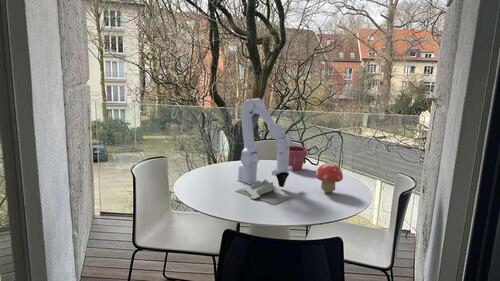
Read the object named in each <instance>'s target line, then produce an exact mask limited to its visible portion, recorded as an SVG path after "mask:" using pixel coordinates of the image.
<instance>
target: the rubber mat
mask: <svg viewBox="0 0 500 281" xmlns="http://www.w3.org/2000/svg"><path fill="white" fill-rule="evenodd" d="M250 187H251V185H250ZM235 192H236V193H238V192H239V194H242V195H244V196H247V197H249V198H250V197H251V195H250V194H249V193H248V192H247V191H243V188H239V189H237V190H235ZM290 199H292V197H291V196H287V195H286V194H285V195H284V194H282V193H278V192H275V191H274V193H273V192H272V191H268V192H266V193H263V194H261V195H260V197H258V198H256V200H259V201H261V202H264V203H266V204H270V205H273V206H275V205H278V204H280V203H283V202H285V201H288V200H290Z"/></svg>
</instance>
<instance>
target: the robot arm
mask: <svg viewBox="0 0 500 281" xmlns="http://www.w3.org/2000/svg"><path fill="white" fill-rule="evenodd" d="M241 105H242V109H241V113H240V118H241V119H240V120H241V129H242V138H243V139H242V140H243V147H244V148H243V149H242V151H241V157H240V162H241V164H240V165H239V167H238V173H237V174H238V175H237V176H238V178H237V181H238V182H242V183H245V184H248V185H252V184H255V183H257V182H261V181H260V180H259V179H257V172H258V163H259V161H260V159H261V157H260V156H261V155H260V154H259V151H258V150H259V149H258V148H257V147H256V146H255V138H254V137H255V136H254V135H255V134H254V127H253V116H254V115H255V114H256V115H259V116H260V117H261V118H262V119H263V121H264V122H265V124H267V125H266V126H268V132H269V133H270V134H271V135H272V138H273V139H274V140H275V141H276V142H275V146H276V148H277V155H276V156H277V158H276V168H275V169H273V170H272V171H271V175H272V176H274V177H276V179H277V182H278V187H281V188H283V187H285V184H286V181H287V178H288V176H290V172H291V170H292V166H288V163H289V146H292V144H293V141H292V138H291V136H290V135H287V134H286V133H285V132H284V130H283V128H282V125H281V124H279V123H275V121H274V119H273V118H272V115H271V114H270V113H269V111H268V109H267V107H266V103H264V102H263V100H262V98H259V97H255V98H248V99H245V100H244V101H243V103H242V104H241ZM287 147H288V148H287Z"/></svg>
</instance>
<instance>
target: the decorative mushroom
mask: <svg viewBox="0 0 500 281" xmlns="http://www.w3.org/2000/svg"><path fill="white" fill-rule="evenodd" d="M315 178H316V179H317V180H319V181H321V183H320V184H321V185H320V189H321V190H322V191H323V192H324V193H327V194H330V193H332V192H334V191H335V190H336V183H339V182H341V181H343V179H344V175H343V171H342V169H341V168H340V166H338V165H336V164H334V163H331V162H328V163H323V164H322V165H319V167H318V168H317V169H316V171H315Z"/></svg>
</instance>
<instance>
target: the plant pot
mask: <svg viewBox="0 0 500 281" xmlns="http://www.w3.org/2000/svg"><path fill="white" fill-rule="evenodd" d="M287 148H288V147H287ZM307 154H308V148H306V147H304V146H299V145H291V146H289V163H288V166H292V170H291V171H293V172H299V171H301V170H302V169H303V165H304V162H305V158H306V156H308V155H307ZM291 171H290V172H291Z"/></svg>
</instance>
